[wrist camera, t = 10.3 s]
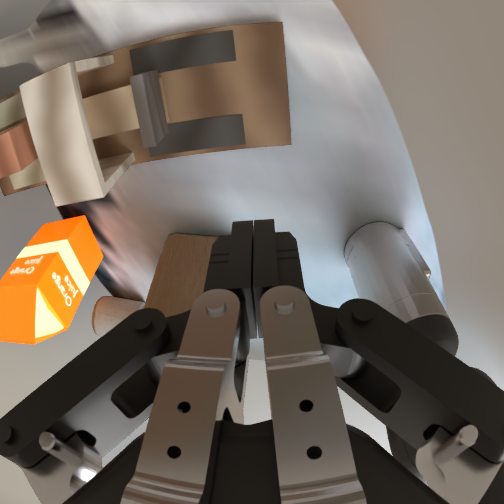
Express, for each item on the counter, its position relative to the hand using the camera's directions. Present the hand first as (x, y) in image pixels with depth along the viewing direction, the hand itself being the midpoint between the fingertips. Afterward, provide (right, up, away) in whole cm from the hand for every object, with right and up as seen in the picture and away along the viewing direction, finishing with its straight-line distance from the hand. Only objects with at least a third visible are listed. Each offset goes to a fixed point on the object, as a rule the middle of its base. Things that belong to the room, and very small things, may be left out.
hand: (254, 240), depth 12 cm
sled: (-29, +14, +18) cm, 37 cm away
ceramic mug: (-22, -10, +40) cm, 47 cm away
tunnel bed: (-17, +16, +19) cm, 31 cm away
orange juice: (-28, +1, +31) cm, 41 cm away
